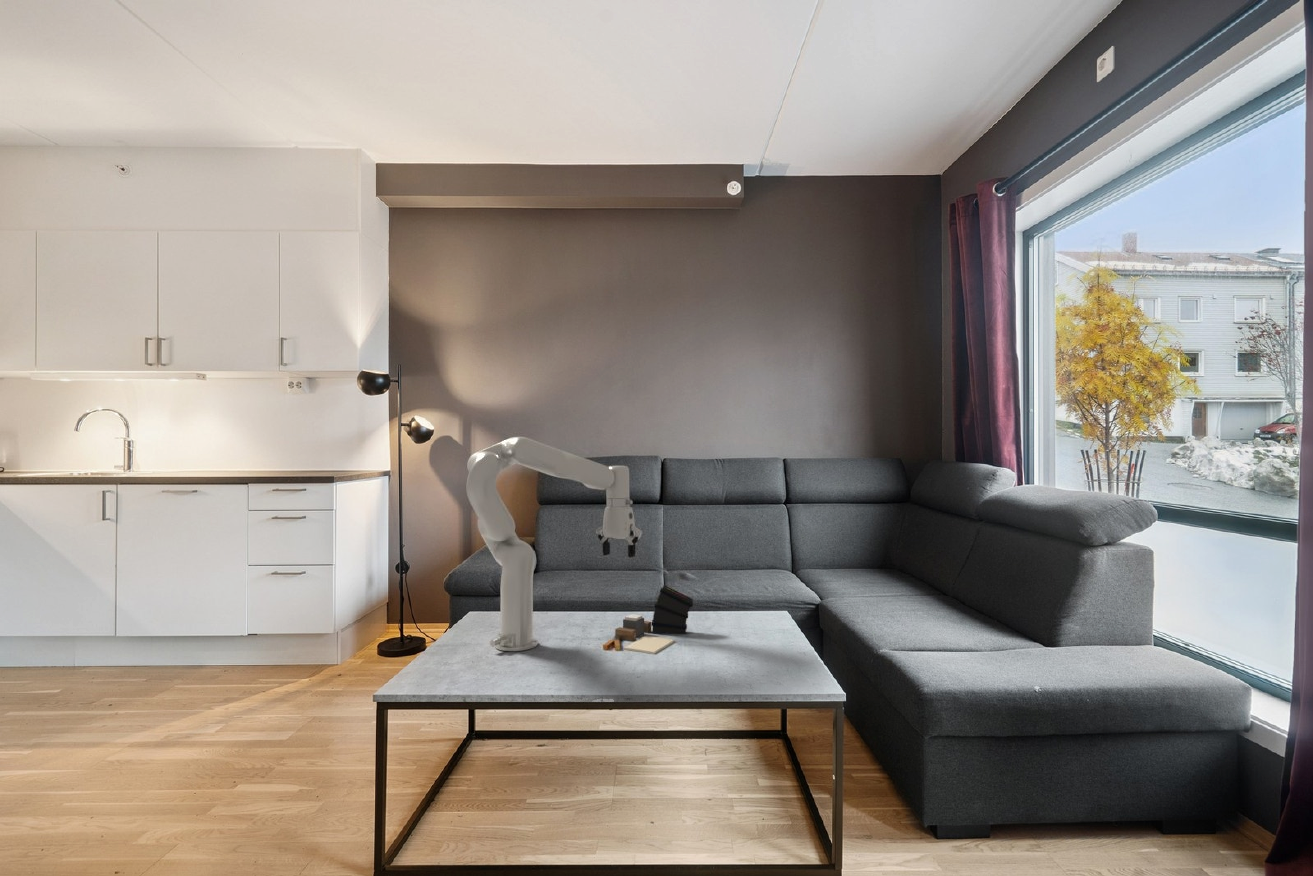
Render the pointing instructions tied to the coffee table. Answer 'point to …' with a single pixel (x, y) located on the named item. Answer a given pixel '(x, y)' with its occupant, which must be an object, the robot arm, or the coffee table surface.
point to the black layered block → (671, 612)
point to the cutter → (612, 643)
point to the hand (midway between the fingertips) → (618, 555)
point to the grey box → (634, 624)
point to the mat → (649, 644)
